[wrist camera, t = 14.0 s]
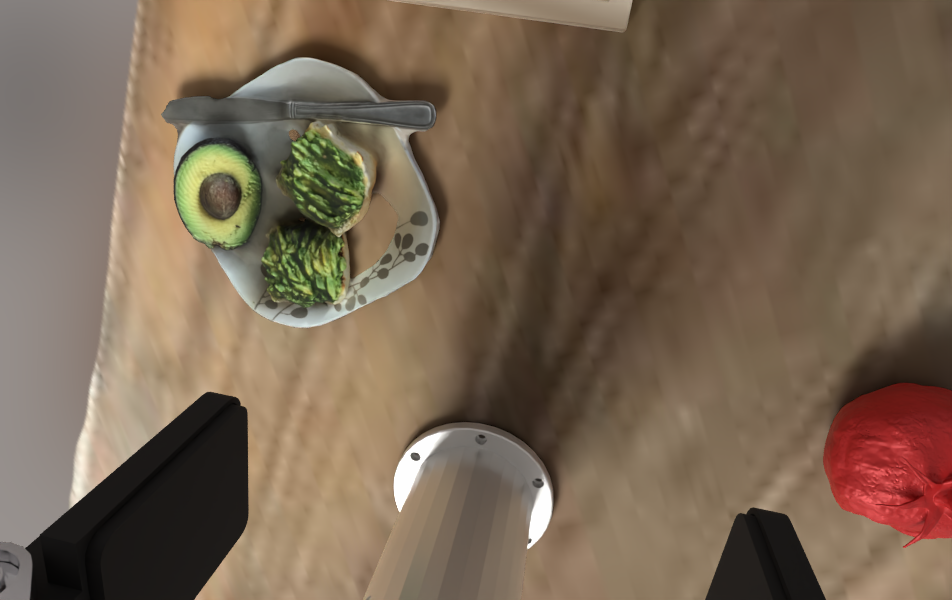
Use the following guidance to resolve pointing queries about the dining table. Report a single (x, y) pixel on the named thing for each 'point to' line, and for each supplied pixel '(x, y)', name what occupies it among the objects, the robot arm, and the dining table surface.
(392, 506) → the dining table surface
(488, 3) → the sorting tray
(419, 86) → the dining table surface
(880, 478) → the pomegranate
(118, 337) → the dining table surface
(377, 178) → the avocado toast plate
